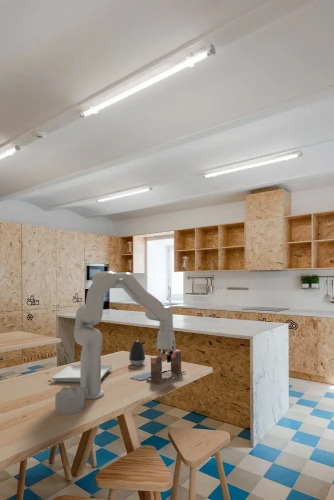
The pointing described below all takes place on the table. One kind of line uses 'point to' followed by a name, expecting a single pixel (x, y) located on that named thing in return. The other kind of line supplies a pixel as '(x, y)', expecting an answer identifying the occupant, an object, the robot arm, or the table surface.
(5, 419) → the table surface
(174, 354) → the rail
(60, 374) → the square plate
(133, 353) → the pump dispenser
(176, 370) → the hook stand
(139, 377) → the mat
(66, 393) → the lumpy-topped squat cylinder
